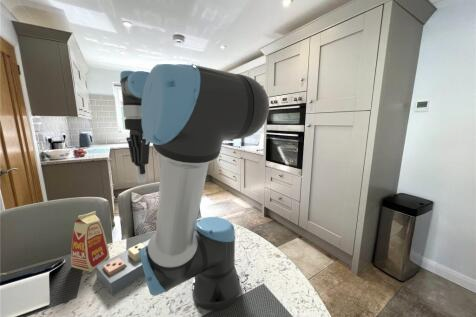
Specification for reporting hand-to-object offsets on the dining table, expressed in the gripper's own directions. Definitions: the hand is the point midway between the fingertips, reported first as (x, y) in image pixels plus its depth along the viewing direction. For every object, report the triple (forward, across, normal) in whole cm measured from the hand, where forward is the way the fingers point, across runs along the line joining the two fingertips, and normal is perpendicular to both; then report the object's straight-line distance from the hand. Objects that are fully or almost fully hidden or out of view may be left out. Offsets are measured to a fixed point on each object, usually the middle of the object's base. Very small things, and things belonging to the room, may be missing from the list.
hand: (141, 181), depth 73 cm
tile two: (+26, -4, +5) cm, 27 cm away
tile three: (+28, -4, +13) cm, 31 cm away
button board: (+30, -4, +6) cm, 31 cm away
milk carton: (+31, +13, +15) cm, 36 cm away
